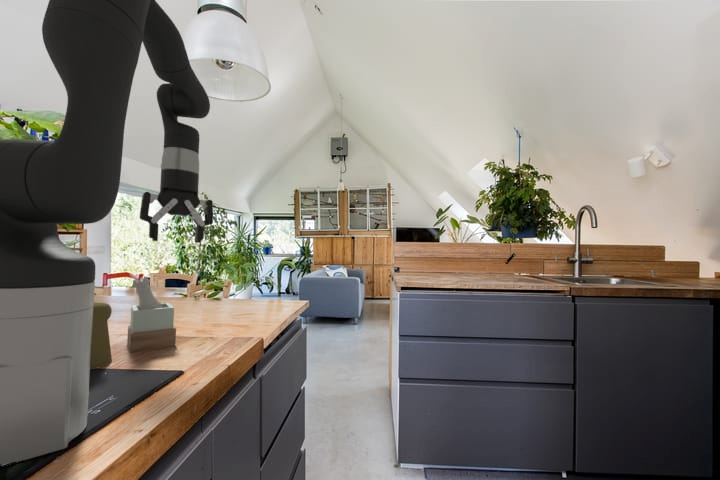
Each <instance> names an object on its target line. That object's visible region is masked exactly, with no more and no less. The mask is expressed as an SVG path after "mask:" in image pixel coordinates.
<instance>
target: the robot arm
mask: <svg viewBox="0 0 720 480" xmlns="http://www.w3.org/2000/svg"><path fill="white" fill-rule="evenodd" d="M41 27H42V28H41V32H42V33H41V34H42V41H43V43H44V46H45V51H47V54H48V56H49V58H50V60H51V63H52V64H53V67H54V69H55V70H56V72H57V74H58V76H59V78H60V79H61V81H62V83H63V86H64V88H65V92H66V96H67V104H66V105H67V106H66V110H65V111H66V112H65V116H64V121H63V124H62V127H61V130H60V133H59V135H58V137H57V139H55V140H39V139H38V140H37V139H18V138H17V139H15V138H14V139H13V138H11V139H10V138H9V139H8V138H7V139H5V138H3V139H0V464H1V465H2V464H6V463H9V462H16V463H19V461H20V462H22V460H23V461H26V460H29V459H33V458H36V457H40V456H43V455H47V454H49V453H54V452H58V451H61V450H64V449H66V448H68V445H69V443H70V442H71V441H72V440H73V439H75V438H76V437H78V436H79V435H80V434H81V433H83V431H84V430H85V429H86V427H87V426H88V424H87V423H88V408H89V396H90V395H89V393H90V391H89V390H90V389H89V388H90V374H91V373H90V372H91V370H90V357H91V339H92V321H93V305H94V303H95V287H96V285H95V284H96V282H95V281H96V262H95V261H94V258H91V257H90V256H88V255H85V254H83V253H81V252H78V251H76V250H73V249H72V248H70V247H68V246H67V245H66V244H64V242H63V241H61V239H60V237H59V231H58V224H63V225H65V224H67V225H69V224H70V225H83V224H84V225H86V224H88V225H89V224H94V223H97V222H100V221H101V220H103V219H105V218H106V217H107V216H108V215H109V214H110V212H111V211H112V209H113V207H114V205H115V203H116V201H117V197H118V194H119V188H120V182H121V172H122V162H123V161H122V160H123V151H124V150H123V149H124V135H125V127H126V126H125V125H126V119H127V114H128V109H129V107H128V106H129V101H130V96H131V92H132V91H131V90H132V86H133V81H134V76H135V72H136V69H137V66H138V63H139V59H140V53H141V48H142V43H143V46H144V49H145V51H146V53H147V56H148V59H149V61H150V63H151V65H152V68H153V71H154V73H155V75H156V76H157V77H158V78H159V79H160V80H161V81H163V83H161V84H160V85H159V86H158V88H157V90H156V101H157V104H158V108H159V112H160V115H161V119H162V126H163V132H164V135H163V151H162V155H161V163H160V168H161V169H160V183H159V184H160V186H159V189H160V190H159V193H158V194H157V193H156V194H154V193H150V192H149V191H146V192H144V193H142V195H141V203H140V211H139V219H140V220H141V221H144V222H147V223H148V228H149V229H148V237H149V239H151V241H152V242H158V240H159V224H158V222H159V221H160V220H162V218H163V217H164V216H165V215H167V214H168V215H171V216H177V215H178V216H181V217H187V216H188V217H189V218H190V219H191V220H192V221H193V223H194V224H195V225H196V226H195V232H194V233H195V234H194V243H195V244H196V243H197V244H198V243H199V244H200V243H201V241H203V240H204V230H205V227H206V226H211V225H213V223H214V218H213V217H214V212H213V211H214V209H213V208H214V205H213V200H212V199H205V200H204V199H200V197H199V183H200V182H199V181H200V158H199V157H200V156H199V154H200V133H199V130H198V129H197V128H195V127H193V126H191V125H188V124H186V123H182V122H179V120H178V118H188V119H189V118H191V119H200V120H201V119H204V118H206V117H207V116H208V115H209V113H210V109H211V103H210V99H209V96H208V93H207V92H206V90H205V88H204V86H203V85H202V83H201V81H200V80H199V78H198V77H197V75H196V72H195V71H194V70H193V68H192V66H191V63H190V59H189V57H188V53H187V50H186V46H185V43H184V39H183V37H182V35H181V33H180V31H179V29H178V28H177V26H176V23H174V21H173V19H171V18H170V16H169V15H168V14H167V13H166V12H165V10H164V9H163V8H162V7H161V5H160V4H159V3H158V1H156V0H48V4H47V7H46V10H45V12H44V16H43V20H42V25H41ZM155 201H157V202H158V203H159V204H160V206H161V208H160V209H159V210H158V211H157V212H156V213H155V214H154V215H153V216H151V215H149V212H150V204H153V203H154V202H155ZM199 205H200V206H201V208H202V209H203V210H204V220H203V219H202V217H201V215H200V214H199V212H198V211H197V210H196V209H197V207H199Z"/></svg>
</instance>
